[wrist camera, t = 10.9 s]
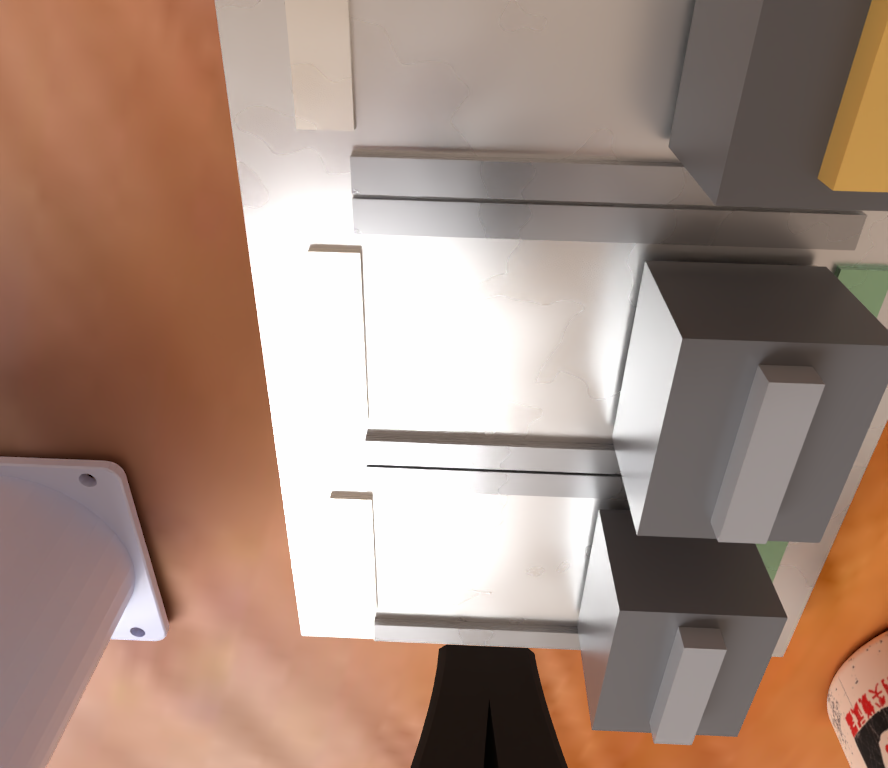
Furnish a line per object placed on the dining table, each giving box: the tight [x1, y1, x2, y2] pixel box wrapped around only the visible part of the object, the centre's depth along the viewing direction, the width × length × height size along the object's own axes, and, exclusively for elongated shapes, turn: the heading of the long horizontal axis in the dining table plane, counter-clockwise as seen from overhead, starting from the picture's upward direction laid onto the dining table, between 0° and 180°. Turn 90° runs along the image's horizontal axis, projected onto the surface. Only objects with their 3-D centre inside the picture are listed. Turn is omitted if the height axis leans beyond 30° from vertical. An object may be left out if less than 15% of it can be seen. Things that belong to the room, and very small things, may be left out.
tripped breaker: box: [668, 0, 888, 211], centre depth 12 cm, size 4×5×4 cm
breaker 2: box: [577, 509, 788, 745], centre depth 20 cm, size 4×5×4 cm
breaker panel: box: [215, 0, 888, 657], centre depth 18 cm, size 16×23×2 cm
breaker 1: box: [612, 261, 888, 544], centre depth 16 cm, size 4×5×4 cm
